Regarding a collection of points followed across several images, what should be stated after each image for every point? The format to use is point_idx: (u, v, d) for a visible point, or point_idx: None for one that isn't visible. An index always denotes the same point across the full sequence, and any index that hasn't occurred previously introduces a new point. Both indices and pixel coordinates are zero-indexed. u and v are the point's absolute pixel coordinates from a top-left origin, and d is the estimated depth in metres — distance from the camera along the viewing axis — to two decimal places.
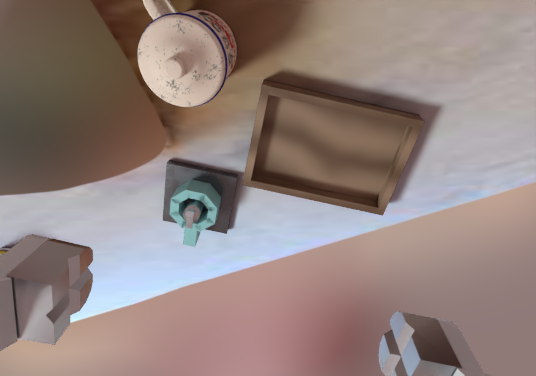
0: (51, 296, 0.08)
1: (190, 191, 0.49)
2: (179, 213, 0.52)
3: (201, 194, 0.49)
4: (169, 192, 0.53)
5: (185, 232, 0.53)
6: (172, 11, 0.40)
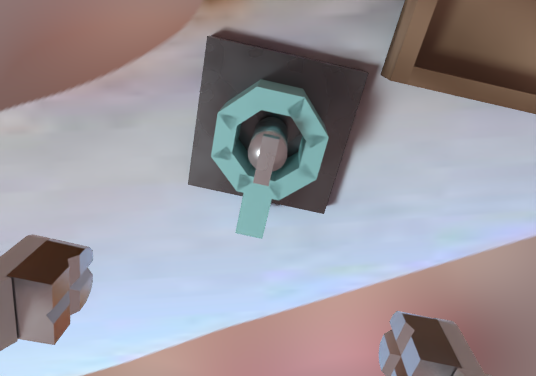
0: (51, 296, 0.08)
1: (268, 91, 0.20)
2: (234, 154, 0.22)
3: (295, 99, 0.20)
4: (207, 115, 0.24)
5: (244, 203, 0.23)
6: None
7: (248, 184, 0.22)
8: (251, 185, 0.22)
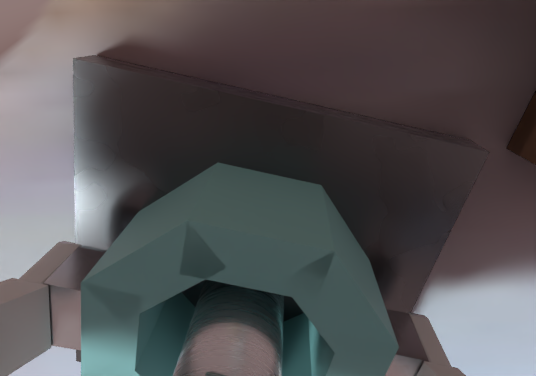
0: None
1: (223, 233, 0.07)
2: (143, 369, 0.08)
3: (305, 255, 0.07)
4: (99, 236, 0.10)
5: None
6: None
7: None
8: None
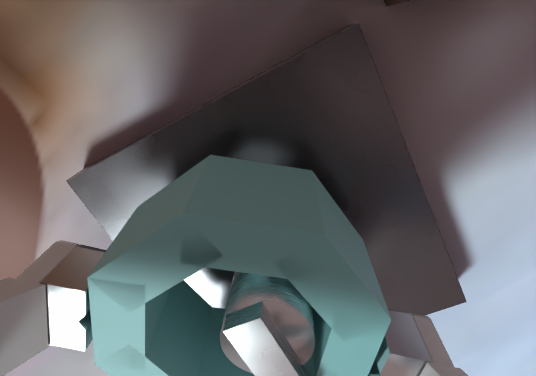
0: (84, 303, 0.08)
1: (218, 222, 0.07)
2: (153, 354, 0.09)
3: (297, 238, 0.07)
4: None
5: None
6: None
7: None
8: None
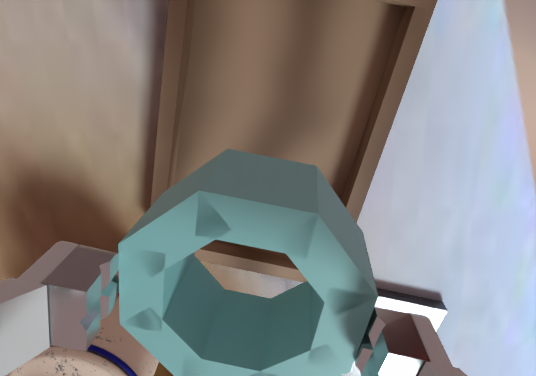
0: (85, 303, 0.08)
1: (227, 200, 0.08)
2: (169, 319, 0.10)
3: (294, 217, 0.08)
4: None
5: None
6: None
7: (204, 373, 0.11)
8: (210, 375, 0.11)
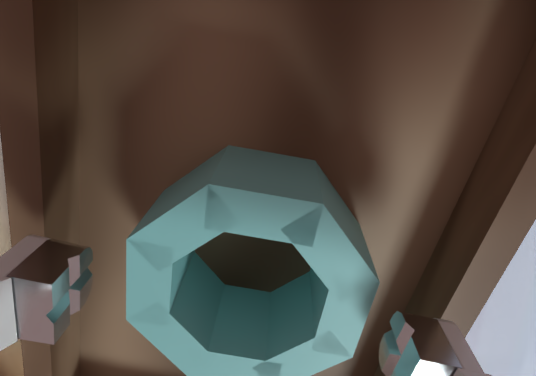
0: (51, 296, 0.08)
1: (236, 193, 0.08)
2: (175, 313, 0.10)
3: (300, 208, 0.08)
4: None
5: None
6: None
7: (210, 365, 0.11)
8: (216, 367, 0.11)
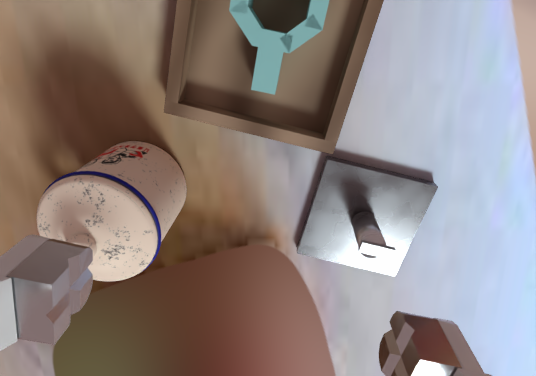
0: (51, 296, 0.08)
1: None
2: (249, 9, 0.25)
3: None
4: (345, 258, 0.35)
5: (258, 58, 0.26)
6: None
7: (262, 38, 0.25)
8: (265, 39, 0.25)
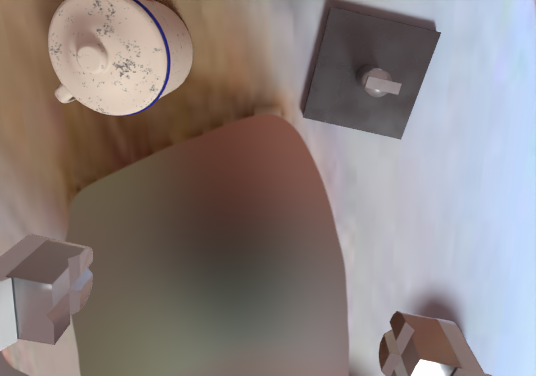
0: (51, 296, 0.08)
1: None
2: None
3: None
4: (351, 121, 0.36)
5: None
6: None
7: None
8: None
